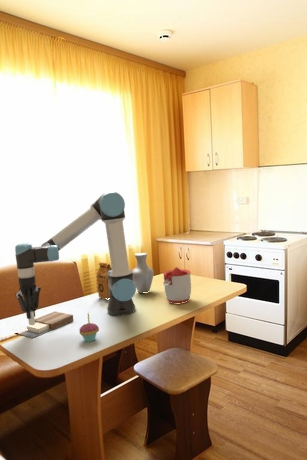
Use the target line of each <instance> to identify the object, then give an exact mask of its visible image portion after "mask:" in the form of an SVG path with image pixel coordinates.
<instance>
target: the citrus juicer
mask: <svg viewBox="0 0 307 460" xmlns="http://www.w3.org/2000/svg"><path fill="white" fill-rule="evenodd" d="M162 274H163V285H164V293H165V296H166V298H167V299H166V300H167V301H168V303H169V302H172V303H182V302H186V301H188V300H189V301H190V300H191V299H190V298H191V294H192V293H191V292H192V282H191V279H192V278H191V270H188V269H180V267H179V268H178V266H177V267H174V269H169V270H166V271H164V272H163V273H162ZM189 301H188V302H189ZM172 303H171V304H172ZM186 303H187V302H186ZM182 304H183V303H182Z"/></svg>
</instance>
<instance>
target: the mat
mask: <svg viewBox="0 0 307 460" xmlns="http://www.w3.org/2000/svg"><path fill="white" fill-rule="evenodd" d="M51 331H52V329H48V330H45V331H43V332H41V333H36V332H32V331H29V330H28V331H25V332H23V333H21V334H20V336H23V337H26V338H30V339H35V338H37V337H39V336H41V335H43V334H46V333H49V332H51Z"/></svg>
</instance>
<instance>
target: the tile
mask: <svg viewBox="0 0 307 460" xmlns="http://www.w3.org/2000/svg"><path fill="white" fill-rule="evenodd" d="M26 328H27V329H28V330H29V331H32V332H36V333H41V332H43V331H45V330H48V329H49V325H47V324H43V323H39V322H36V323H35V325H29V324H28V325H26Z"/></svg>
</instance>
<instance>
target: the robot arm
mask: <svg viewBox="0 0 307 460" xmlns="http://www.w3.org/2000/svg"><path fill="white" fill-rule="evenodd" d="M125 207H126V203H125V199H124V197H123V196H122V194H120V193H119V192H116V191H107V192H103V193H102V194H101V196H99V197H98V198H97V199H96V200H95V201H94V202H93V203H92V204H91V205H90V208H88V209H87V210H86V211H85V212H83V213H82V214H80V215H79V216H78V217H77V218H75V219H74V220H73V221H72V222H70V223H69V224H67V226H65V227H64V228H62V229H61V230H60V231H59V232H57V233H56V234H54V236H52V237H51V238H50V239H48V240H46V241H45V242H44V243H42V244H41V246H33V244H32V243H29V242H28V243H27V242H26V243H20V244H16V245H15V249H14V250H15V251H14V252H15V254H14V255H15V261H16V269H17V276H18V278H17V279H18V286H19V290H18V292H17V293H15V298H17V300H18V305H19V306H20V310H21V312H23V313H26V314H25V315H26V319H28V320H27V321H28V326H29V325H35V320H34V319H35V317H36V311H37V309H38V308H39V302H40V301H39V300H40V292H41V290H42V288H41V287H38V286H37V285H36V282H37V280H36V276H35V273H36V272H35V264H38V263H46V262H47V263H48V262H55V261H59V259H60V250H62V249H64V248H65V247H66V246H67V245H68V244H70V243H71V242H72V241H73V240H75V239H76V238H77V237H79V236H80V235H81V234H83V233H84V232H85V231H87V230H88V229H89V228H90V227H92V226H93V225H94V224H96V223H97V222H98V221H99V220H101V222H103V223H104V224H105V231H106V239H107V245H108V246H107V247H108V252H109V260H110V266H111V268H112V270H110V271H108V276H107V277H108V285H109V296H110V299H109V300H108V304H107V308H106V311H107V314H108V315H111V316H127V315H129V313H130V314H132V313H134V312H135V311H136V304H135V303H134V301H133V297H134V296H135V294H136V292H137V289H136V285H135V283H134V280H133V273H132V269H130V266H129V259H128V258H129V257H128V252H127V246H126V245H127V244H126V236H125V230H124V229H125V228H124V220H125V219H126V214H125ZM134 310H135V311H134ZM133 311H134V312H133ZM131 312H132V313H131Z"/></svg>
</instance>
